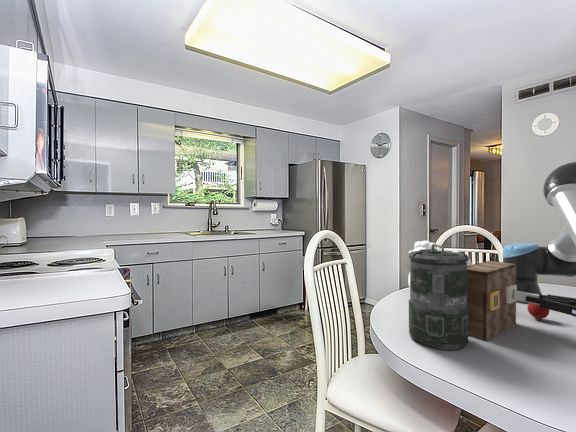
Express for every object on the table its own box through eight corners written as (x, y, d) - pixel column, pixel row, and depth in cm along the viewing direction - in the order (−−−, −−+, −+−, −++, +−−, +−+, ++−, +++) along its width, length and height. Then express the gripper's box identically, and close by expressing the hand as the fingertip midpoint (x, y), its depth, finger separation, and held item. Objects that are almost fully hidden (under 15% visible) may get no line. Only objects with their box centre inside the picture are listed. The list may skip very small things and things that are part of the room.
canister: (401, 328, 98) (401, 242, 98) (451, 328, 98) (451, 241, 97) (421, 351, 83) (421, 248, 82) (480, 351, 82) (481, 248, 81)
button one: (498, 297, 103) (499, 281, 103) (517, 301, 99) (517, 285, 98) (492, 300, 100) (492, 284, 100) (510, 304, 96) (511, 287, 95)
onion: (544, 317, 106) (544, 295, 106) (552, 323, 101) (552, 299, 101) (524, 316, 108) (524, 293, 108) (531, 321, 103) (531, 298, 103)
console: (489, 317, 108) (489, 260, 107) (515, 324, 101) (516, 263, 101) (458, 332, 95) (458, 268, 94) (486, 341, 88) (486, 272, 88)
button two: (481, 303, 96) (481, 287, 96) (500, 307, 92) (500, 290, 92) (473, 306, 93) (473, 289, 93) (492, 311, 89) (492, 293, 89)
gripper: (619, 337, 74) (506, 311, 93) (628, 324, 81) (522, 303, 100) (620, 306, 74) (506, 286, 93) (629, 296, 81) (522, 280, 100)
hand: (514, 295), depth 97 cm, fingers closed
